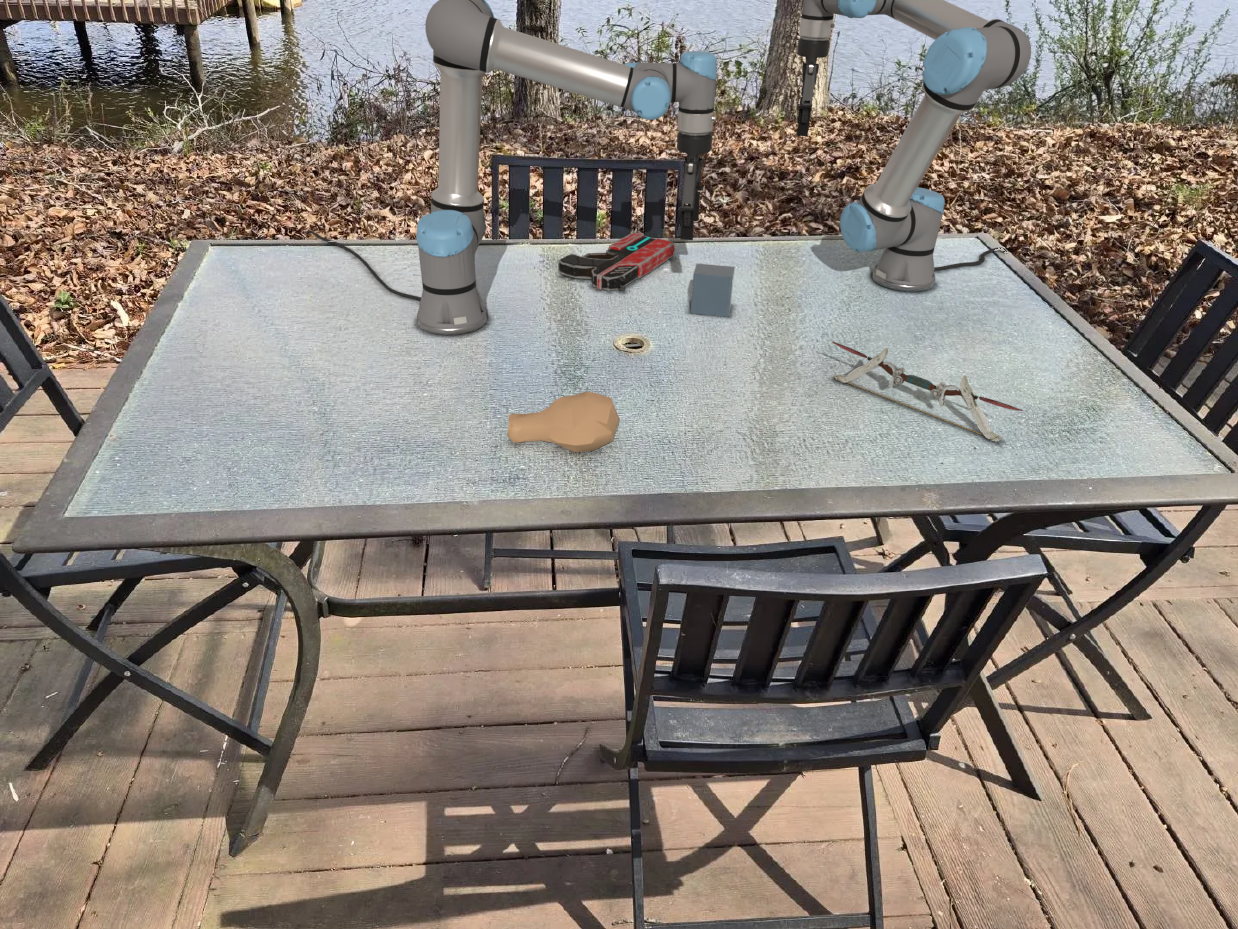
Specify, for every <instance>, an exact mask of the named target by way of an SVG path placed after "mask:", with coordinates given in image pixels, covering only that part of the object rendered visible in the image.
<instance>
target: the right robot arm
mask: <svg viewBox="0 0 1238 929" xmlns="http://www.w3.org/2000/svg"><path fill="white" fill-rule="evenodd" d="M835 15H837V16H843V17H847V18H849V19H864V18H866V17H867V16H880V15H881V16H883V15H884V16H887V17H889V18H892V19H893V20H896V21H898V22H899V23H902V24H904V25H905V26H907V27H910V28H911V29H913V30H915V31H917V32H918V33H919V32H920V33H921V34H922V35H925V36H927V37H929V38H930V39H933V40H934V41H933V42H932V43H931V45H929V48H928V49H927V51H926V53H925V56H924V58H923V61H922V62H923V63H922V67H923V68H924V69H923V70H922V72H921V73H922V79H923V82H922V90H923V93H924V95H923V96H922V100H921V101H920V103H919V105H918V106H917V108H916V109H915V112H914V114H913V115H912V117H911V119H910V121H909V123H908V125H907V127H906V128H905V130H904V132H903V133H902V136H901V138H900V139H899V141H898V143H897V144H896V145H895V146H896V147H895V148H894V150H893V152H892V154H891V155H890V157H889V159H888V161H887V163H886V165H885V167H884V168H883V170H882V172H881V173H880V176H879V177H878V179H877V181H876V182H875V183H871V184H869V185H868V186H867V187H866V188H865V189H864V191H863V193H862V194H861V196H860V198H859V200H858V201H857V202H855V201H854V202H851V203H849V204H847V205H846V206H845V207H843V209H842V212H841V215H840V218H839V219H840V220H839V228H840V233H841V237H842V240H843V241H844V243H845V244H846V246H847V247H848V248H849V249H850V250H852V251H853V252H856V253H872V252H874V251H880V250H883V252H882V253H881V256H880V258H879V260H878V263H877V264H876V265H875V266H874V268H873V272H872V275H871V276H872V281H873V282H875V283H876V284H878V285H880V286H881V287H884V288H886V289H889V290H893V291H897V292H898V291H899V292H905V293H906V292H907V293H918V292H925V291H928V290H930V289H932V288H933V287H934V285H935V282H936V272H938V271H944V270H949V269H955V268H961V267H971V266H979V265H981V264H983V263H985V260H986V256H988V255H990V254H992V253H995V252H996V251H994V250H995V249H998V247H994V248H993V247H992V248H990V249H988V250H985V251H984V252H982V253H981V255H980V259H979V260H977V261H967V262H958V263H952V264H947V265H942V266H935V262H934V261H935V260H934V252H935V248H936V243H937V240H938V235H939V232H940V227H941V223H942V219H943V215H944V213H945V212H944V209H945V203H946V201H945V197H944V196H943V195H942V194H941V193H939V192H936V191H935V190H931V189H928V188H923V187H919V186H920V184H921V182H922V180H923V178H924V177H925V175H926V174H927V172H928V170H929V169H930V167H931V166H932V163H933V162H934V160H935V158H936V157H937V156H938V154H939V152H940V150H941V149H942V147H943V145H944V144H945V142H946V140H947V139H948V137H949V135H950V134H951V132H952V130H953V129H954V128H955V126H956V124H957V122H958V121H959V118H960V117H961V115H962V114H964V113H967V112H971V111H972V110H973V109H974V108H975V106H976V105H977V103H978V102H979V100H980V98H981V97H982V95H983V93H984V92H985V91H987V90H997V89H1002V88H1004V87H1005V88H1006V87H1007V86H1010V85H1011V84H1013V83H1015V82H1016V81H1017V80H1018V79H1019V78H1020V77H1021V76H1023V74H1024V72H1025V71H1026V70H1027V68H1028V66H1029V64H1030V61H1031V56H1032V45H1031V41H1030V39H1029V37H1028V35H1027V34H1026V33H1025V32H1024V31H1023V30H1022V29H1021V28H1019V27H1018V26H1016V25H1013V24H1011V23H1009V22H1006V21H1004V20H1002V19H1000V18H993V19H990V20H988V19H986V18H984V17H982V16H979V15H978V14H975V13H973V12H970V11H969V10H966V9H964V8H962V7H959V6H957V5H956V4H953V3H951V2H949V1H947V0H803V1H802V11H801V17H800V23H799V24H800V25H799V31H798V35H799V37H800V38H799V39H798V41H797V49H796V54H797V55H798V56H799V57H802V58H805V62H802V67H801V73H802V75H801V78H802V79H801V83H802V85H801V86H802V87H801V88H800V90H801V92H800V98H799V104H798V105H797V109H798V114H797V121H796V124H797V128H796V137H809V129H810V121H811V116H812V107H813V98H814V96H815V92H814V90H815V84H816V83H817V78H818V74H819V69H820V63H817V60H818V58H819V59H823V58H826V57H828V55H829V51H830V44H831V41H830V39H829V38H830V37H831V34H832V29H834V28H835V26H836V25H835V23H834V16H835ZM999 248H1000V249H1001V248H1003V249H1004V250H1005V251H1006V252H1008V250H1007V249H1006V248H1004V247H1002V246H1001V247H999ZM1005 251H1003V252H1005ZM1003 252H1002V253H1003ZM1007 254H1008V253H1006V255H1007Z"/></svg>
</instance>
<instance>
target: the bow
mask: <svg viewBox="0 0 1238 929" xmlns="http://www.w3.org/2000/svg"><path fill="white" fill-rule="evenodd" d="M831 343H832V344H833V345H835V346H838V347H839V348H841V349H842V350H844V351H846V352H848V353H851V354H853V355H856V356H858V357H861V358H863V359H866V360H867V361H868V362H867V363H865V364H862V365H861V366H859V367H856V368H855V369H853V370H851V371H850V372H849V373H847V375H845V374H842V375H841V374H836V375H834V379H835V381H838V382H840V383H846V384H849V385H852V386H854V387H857V388H860V389H862V390H865V391H867V392H869V393H873V394H874V395H878V396H880V397H882V398H885V399H888V400H891V401H893V402H895V403H897V404H901V405H903V406H906V407H907V408H908V407H909V408H911V409H913V410H917V411H919V412H920V413H924V414H926V415H929V416H931V417H935V418H937V419H939V420H942V421H944V422H947V423H950V424H953V425H955V426H956V427H957V426H958V427H960V428H963V429H966V430H968V431H970V432H973V433H976V434H978V435H981V436H983V437H985V438H986V439H987V440H990V441H992V442H995V443H996V442H1000V440H1002V437H1001V436H1000V435H998V434H997V433H995V432H994V431H993V430H991V427H990V425H989V422H988V419H987V418H986V416H985V414H984V413H983V411H982V409H981V408H980V406H979V404H978V403H977V401H976V400H978V399H979V400H980V401H982V402H984V403H988V404H990V405H993V406H995V407H1001V408H1003V409H1008V410H1012V411H1018V412H1023V409H1021V408H1018V407H1016V406H1013V405H1010V404H1007V403H1004V402H1002V401H998V400H995V399H991V398H988V397H985V396H978V395H977V394H975V393H974V390H973V388H972V387H971V385H970V384H969V382H968V381H969V380H968V376H967V375H963V376H962V377H961V380H960V384H959V387H958V386H956V385H954V384H949V385H947V384H946V383H944V381H941V382H940V383H939V384H937V385H935V384H933V382H931V381H930V380H928V379H925V378H923V377H921V376H918V375H915V374H906V373H905V371H906V369H905V367H899V368H898V367H897V365H895V364H894V363H892V362H889V361H885V359H886V358H887V357H888V351H889V348H888V347H886V348H884V349H883V350H882V351H881V352H880V353H879V354H876V355H875V356H873V357H871V356H867V354H864V353H863V352H860V351H858V350H856V349H853V348H852V347H849V346H846V345H843V344H841V343H838V342H836V341H831ZM878 368H882V369H883V370H884V371H885V372H886V373H887V374H889V375H890V376H891V379H890V381H889V384H888V385H887V387H888V388H891V389H893V388H894V387H896V384H897V385H899V386H901V385H902V384H904V382H905V383H908V384H910V385H913V386H916V387H919V388H921V389H923V390H926V391H930V396H931V397H932V398H934V399H938V405H937V406H939V407H941V408H943V407H944V406H945V405H946V397H947V396H948V397H954V396H956V397H957V396H958V397H961V399H962V400H963V401H964V403H965V404H966V406H967V408H968V410H969V411H970V414H971V417H972V419H973V420H974V422H975V423H976V426H977V427H978V429H979V430H980V432H978V431H976V430H973V429H971V428H968V427H966V426H963V425H960V424H958V423H955V422H953V421H950V420H947V419H944V418H943V417H939V416H937V415H935V414H932V413H929V412H927V411H923V410H922V409H919V408H916V407H913V406H911V405H909V404H906V403H903V402H901V401H898V400H895V399H892V398H890V397H888V396H884V395H883V394H880V393H878V392H875V391H873V390H870V389H867V388H864V387H862V386H860V385H856V384H854V383H851V382H852V381H854V380H858V379H859V378H860V377H862V376H864V375H866V374H867V373H869V372H870V371H873V370H875V369H878Z"/></svg>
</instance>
